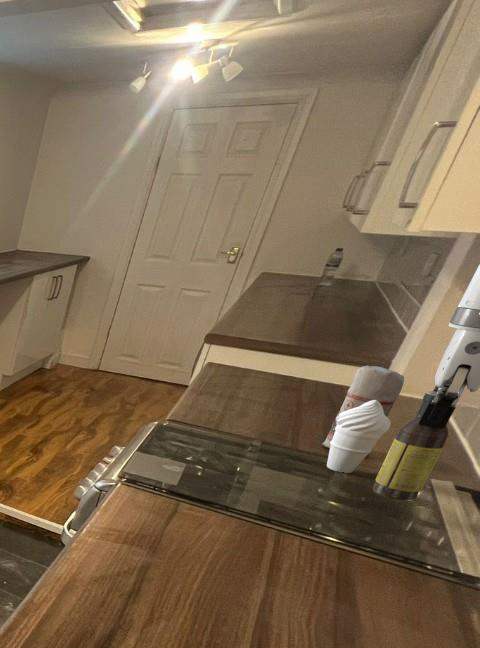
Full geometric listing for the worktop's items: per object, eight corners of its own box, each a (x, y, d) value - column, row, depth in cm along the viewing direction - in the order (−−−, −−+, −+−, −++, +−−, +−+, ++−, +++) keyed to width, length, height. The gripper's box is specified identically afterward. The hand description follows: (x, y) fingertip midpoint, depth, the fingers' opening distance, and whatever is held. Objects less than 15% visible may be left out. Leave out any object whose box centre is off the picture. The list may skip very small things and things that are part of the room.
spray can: (317, 440, 143) (355, 361, 134) (361, 447, 139) (403, 366, 131) (326, 452, 137) (366, 369, 128) (372, 459, 133) (417, 375, 124)
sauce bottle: (424, 499, 109) (481, 398, 100) (400, 504, 107) (457, 401, 98) (383, 484, 114) (434, 387, 105) (360, 488, 113) (410, 390, 104)
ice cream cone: (347, 479, 123) (384, 408, 116) (304, 463, 130) (337, 395, 123) (374, 475, 125) (411, 404, 118) (330, 459, 132) (363, 392, 125)
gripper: (526, 331, 89) (463, 441, 97) (514, 316, 99) (458, 416, 107) (454, 324, 93) (400, 429, 101) (450, 310, 104) (401, 407, 112)
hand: (430, 421), depth 104 cm, fingers closed on sauce bottle, 4 cm apart
